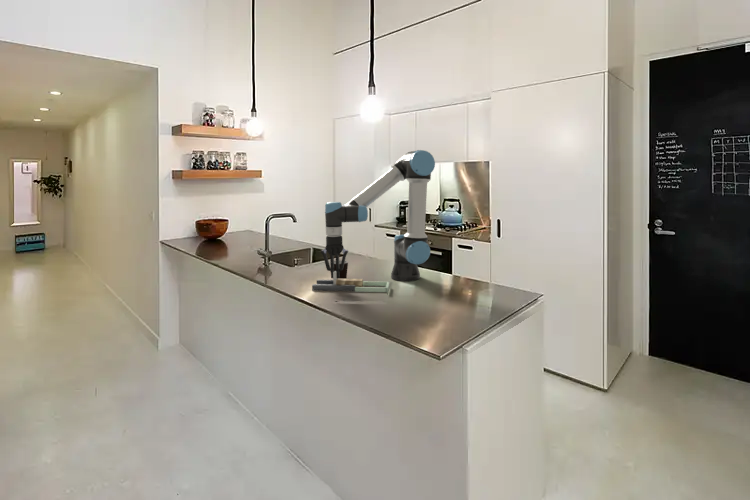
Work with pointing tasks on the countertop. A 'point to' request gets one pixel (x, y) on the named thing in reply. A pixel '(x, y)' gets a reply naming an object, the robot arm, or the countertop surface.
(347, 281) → the tan wooden block
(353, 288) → the slot channel
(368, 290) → the tray
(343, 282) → the tan cubic piece
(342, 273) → the coffee mug
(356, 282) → the beige cubic piece
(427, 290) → the countertop surface
